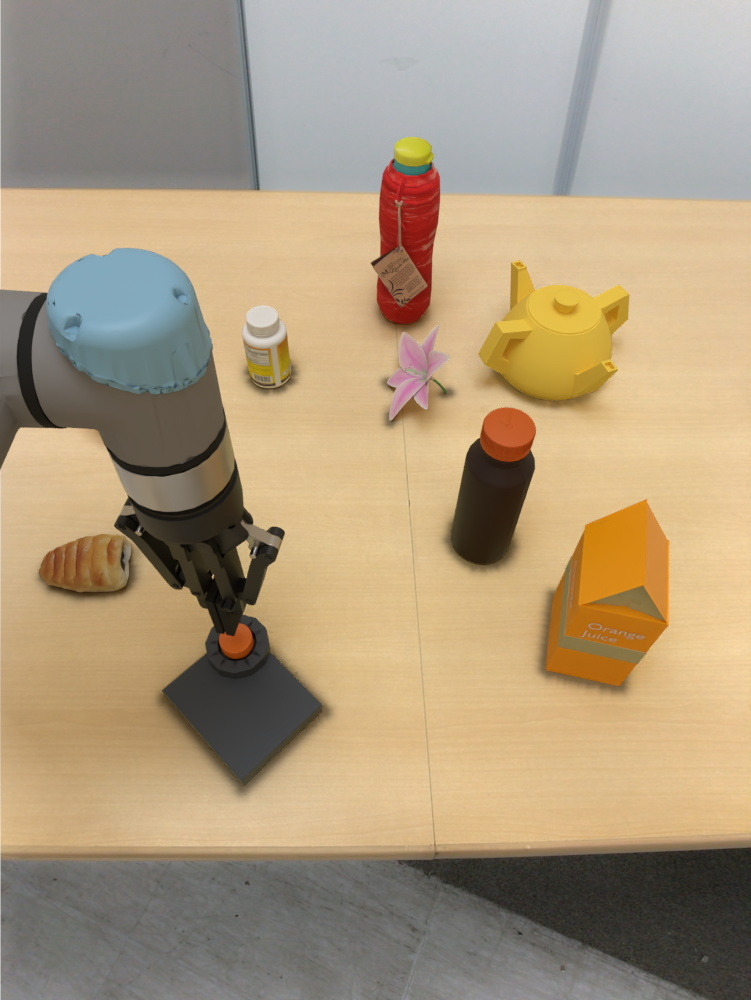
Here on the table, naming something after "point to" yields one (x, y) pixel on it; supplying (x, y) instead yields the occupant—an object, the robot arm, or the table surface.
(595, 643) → the orange juice
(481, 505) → the vinegar
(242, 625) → the button
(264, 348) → the supplement bottle
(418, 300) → the water bottle
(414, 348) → the lily
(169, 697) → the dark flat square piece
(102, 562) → the pastry
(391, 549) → the table surface
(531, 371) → the teapot
